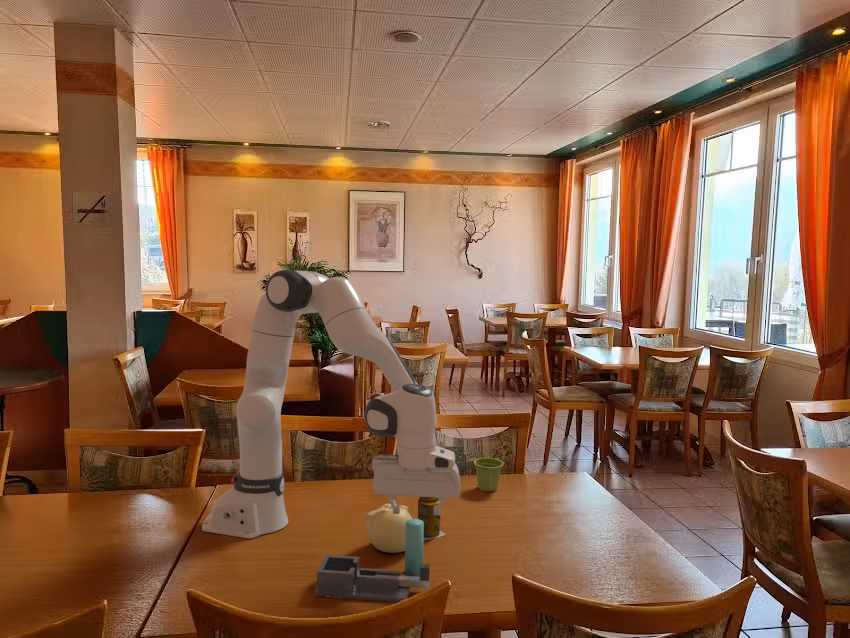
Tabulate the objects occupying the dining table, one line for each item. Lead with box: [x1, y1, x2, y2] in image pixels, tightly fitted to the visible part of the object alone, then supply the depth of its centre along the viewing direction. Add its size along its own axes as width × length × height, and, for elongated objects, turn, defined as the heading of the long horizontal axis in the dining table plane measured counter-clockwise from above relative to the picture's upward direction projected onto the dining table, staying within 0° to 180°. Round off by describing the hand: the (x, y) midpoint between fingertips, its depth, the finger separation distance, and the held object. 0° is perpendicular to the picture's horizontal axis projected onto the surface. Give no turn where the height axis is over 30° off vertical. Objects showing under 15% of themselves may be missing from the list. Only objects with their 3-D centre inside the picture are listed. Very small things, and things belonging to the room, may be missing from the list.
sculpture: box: [365, 503, 413, 554], centre depth 157 cm, size 11×12×11 cm
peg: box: [404, 518, 424, 577], centre depth 144 cm, size 4×4×12 cm
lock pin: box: [375, 563, 431, 589], centre depth 136 cm, size 12×2×5 cm, turn 85°
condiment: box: [417, 497, 447, 542], centre depth 165 cm, size 7×8×12 cm
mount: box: [314, 554, 412, 603], centre depth 137 cm, size 20×10×5 cm, turn 85°
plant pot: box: [473, 457, 504, 493], centre depth 198 cm, size 9×9×9 cm
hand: (416, 513), depth 143 cm, fingers open, 8 cm apart
